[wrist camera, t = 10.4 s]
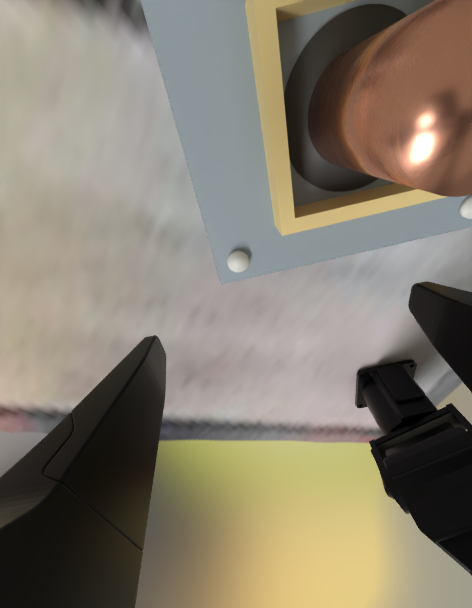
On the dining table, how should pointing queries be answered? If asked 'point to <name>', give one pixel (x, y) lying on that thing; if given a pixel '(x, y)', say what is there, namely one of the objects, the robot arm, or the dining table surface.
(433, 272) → the dining table surface
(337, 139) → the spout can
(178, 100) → the grey plate with frame
